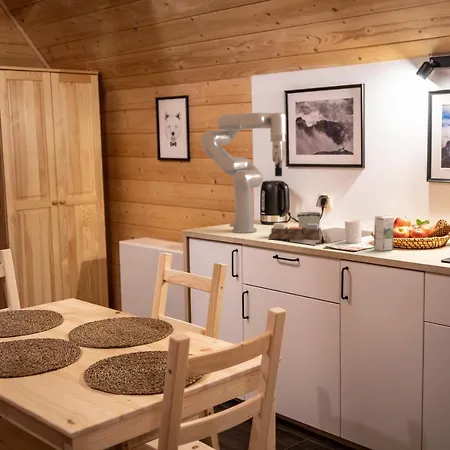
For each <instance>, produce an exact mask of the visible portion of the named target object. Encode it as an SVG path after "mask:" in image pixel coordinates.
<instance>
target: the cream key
mask: <svg viewBox="0 0 450 450" xmlns="http://www.w3.org/2000/svg"><path fill="white" fill-rule="evenodd" d="M273 227H274V229H285V228H286V227H287V223H286V222H275V223H273Z"/></svg>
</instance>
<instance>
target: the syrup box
mask: <svg viewBox="0 0 450 450" xmlns="http://www.w3.org/2000/svg"><path fill="white" fill-rule="evenodd" d="M394 224H395V218H394V216H391V215H378V216H374V237H373V238H374V239H373V243H374V244H373V250H374V251H378V252H379V251H380V252H387V251H389V252H390V251H393V250H394V230H395V229H394Z"/></svg>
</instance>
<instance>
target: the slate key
mask: <svg viewBox="0 0 450 450" xmlns="http://www.w3.org/2000/svg"><path fill="white" fill-rule="evenodd" d="M319 228H320V223H319V224H311V223H308V224H307V229H319Z"/></svg>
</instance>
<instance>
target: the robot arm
mask: <svg viewBox="0 0 450 450" xmlns="http://www.w3.org/2000/svg"><path fill="white" fill-rule="evenodd" d="M216 122H217V123H216V125H217V126H218V128H219V129H210V130H206V131H205V132H203V133H202V135H201V136H200V137H201V138H200V144H201V148H202V150H203V153H204V154H205V155H207V157H209V158H210V159H211V160H212V161H213V162H214V163H215V164H216V165H217V166H218V167H219V168H220V169H221V170H222V172H224V173H225V174H226V175H228V176H232V186H233V192H234V222H230V224H229V227H230V228H231V227H232V230H231V231H232V233H239V234H243V233H244V234H246V233H247V234H248V233H249V234H251V233H256V232H258V231H257V230H258V229H257V228H256V227H254V195H253V191H252V189H253V188H255V189H256V188H258V187H260V186H261V185H262V184H263V181H264V178H263V177H264V176H263V174H262V172H261V171H260V170H259V169H258V168H257V166H256V165H254V163H252V162H251V161H250V160H249V159H247V158H246V157H243V156H234V155H232V154H230V153H229V152H228V151H227V150H226V149H224V148H223V146H224V147H225V146H228V145H229V144H231V142H232V141H233V140H234V138H235V137H236V136H237V135H238V134H239V132H240V131H246V130H248V129H270V143H271V142H272V146H271V147H272V148H271V150H272V152H271V153H272V159H271V160H272V162H273V163H274V176H275V177H282V176H283V162H285V161H286V159H287V158H286V145H285V144H286V143H285V142H287V116H286V113H284V112H273V113H272V112H249V113H247V112H246V113H245V112H242V113H227V114H225V113H224V114H221V115H220V116H219V117H218V118H217V121H216Z"/></svg>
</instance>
